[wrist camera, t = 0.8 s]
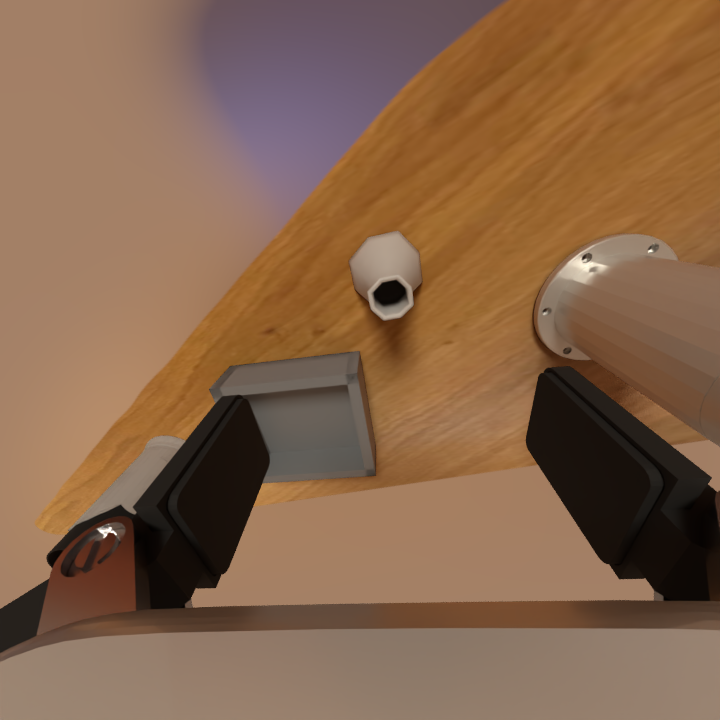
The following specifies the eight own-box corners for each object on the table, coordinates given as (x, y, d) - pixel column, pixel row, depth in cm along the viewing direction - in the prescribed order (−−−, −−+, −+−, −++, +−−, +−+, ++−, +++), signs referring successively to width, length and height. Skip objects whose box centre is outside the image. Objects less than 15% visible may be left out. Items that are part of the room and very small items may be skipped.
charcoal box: (359, 351, 33) (357, 373, 28) (375, 446, 39) (375, 475, 35) (230, 366, 34) (208, 389, 30) (267, 454, 41) (254, 483, 37)
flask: (371, 317, 31) (370, 361, 22) (336, 257, 28) (318, 279, 19) (433, 284, 29) (460, 317, 20) (402, 215, 26) (416, 219, 17)
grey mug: (165, 426, 40) (60, 534, 26) (244, 481, 44) (188, 596, 31) (134, 453, 42) (26, 563, 29) (211, 502, 47) (148, 615, 34)
